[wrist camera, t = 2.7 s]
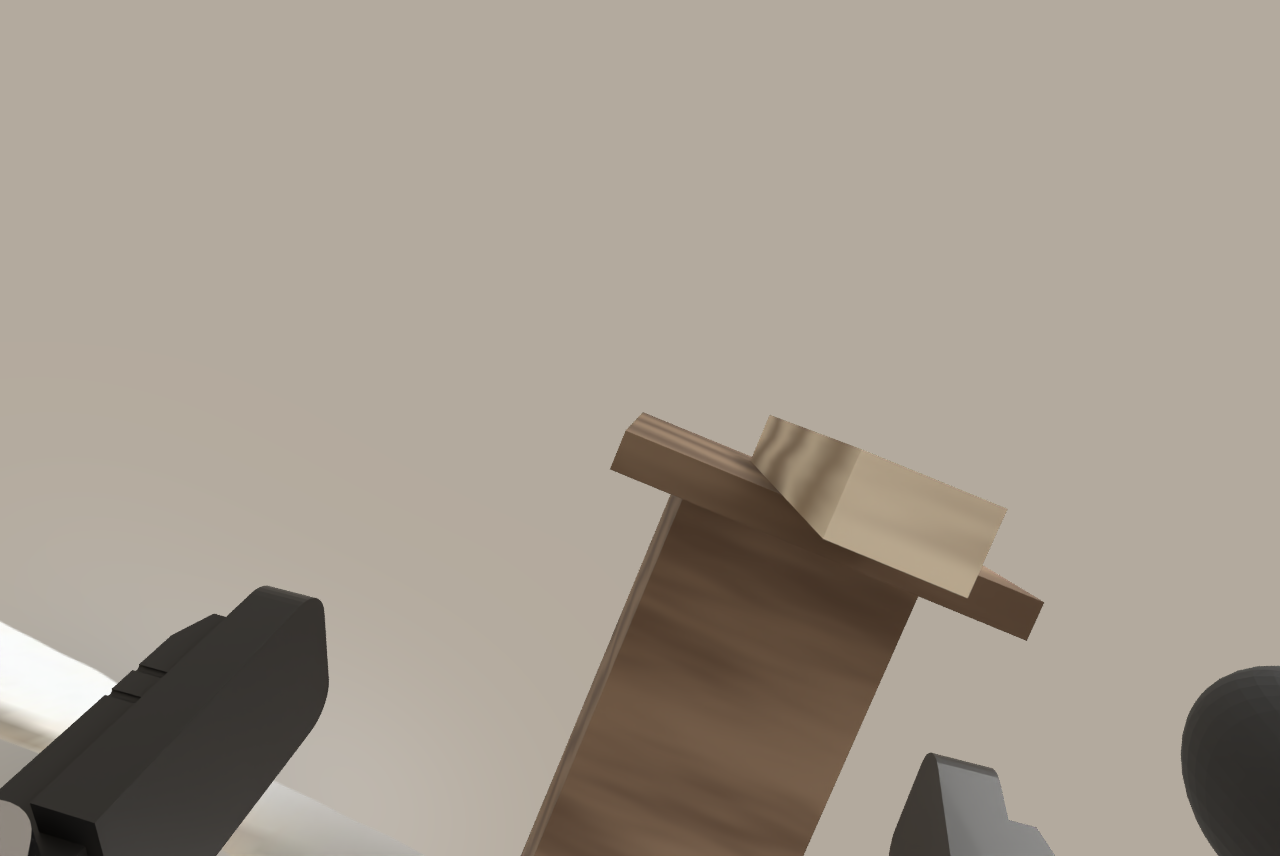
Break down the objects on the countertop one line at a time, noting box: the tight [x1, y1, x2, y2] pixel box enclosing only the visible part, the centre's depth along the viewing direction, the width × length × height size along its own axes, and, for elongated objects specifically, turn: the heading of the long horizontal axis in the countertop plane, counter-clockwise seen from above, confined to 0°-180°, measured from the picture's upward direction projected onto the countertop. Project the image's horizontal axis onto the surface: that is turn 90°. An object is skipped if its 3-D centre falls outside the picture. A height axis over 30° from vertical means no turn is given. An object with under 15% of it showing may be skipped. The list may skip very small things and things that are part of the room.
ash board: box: [751, 415, 1007, 598], centre depth 31 cm, size 20×4×2 cm, turn 177°
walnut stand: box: [521, 413, 1044, 856], centre depth 38 cm, size 16×16×32 cm
